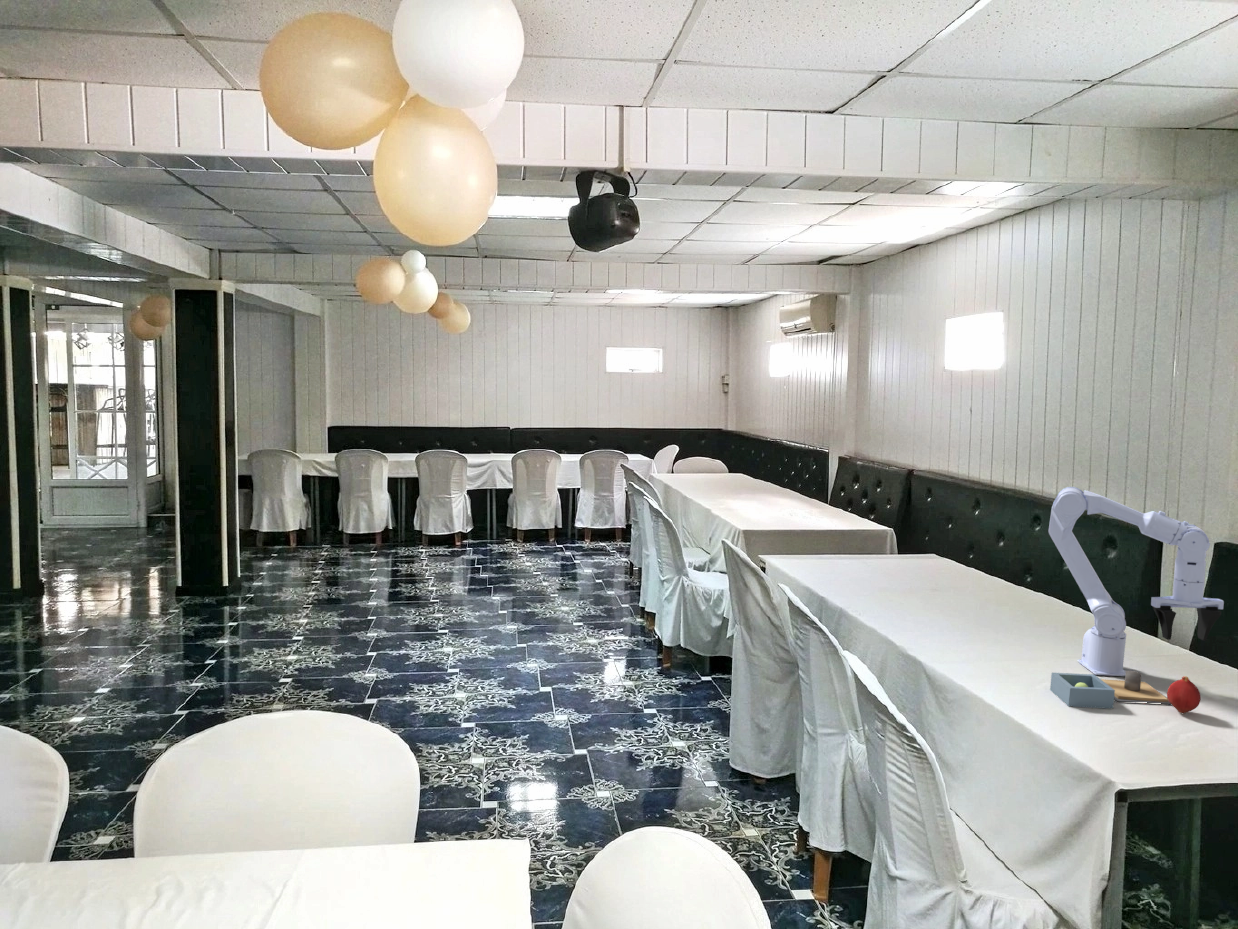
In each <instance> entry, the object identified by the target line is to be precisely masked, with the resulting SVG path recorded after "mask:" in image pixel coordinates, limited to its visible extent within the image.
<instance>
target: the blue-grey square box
mask: <svg viewBox="0 0 1238 929" xmlns="http://www.w3.org/2000/svg"><path fill="white" fill-rule="evenodd" d="M1101 679H1102V678H1099V676H1098V675H1095V674H1094V673H1093V674H1092V673H1091V674H1090V673H1089V674H1088V673H1069V672H1051V677H1050V686H1049V687H1050V688H1049V690H1050V691H1051V693H1053V694H1054V695H1055V696H1056V695H1057V696H1058V697H1057V696H1056V697H1057V698H1059V699H1060V700H1061V702H1063V703H1064V702H1065V703H1066V704H1067V707H1071V706H1073V707H1075V708H1092V709H1093V708H1094V709H1097V708H1098V709H1111V708H1113V709H1114V702H1115V701H1114V694H1115V690H1114V689H1113V688H1111V687H1110V686H1109V685H1107V684H1106V683H1105V682H1103V681H1102V680H1101ZM1080 682H1081V683H1085V684H1086V685H1087V686H1088V687H1075V685H1076V684H1077V683H1080ZM1065 703H1064V704H1065ZM1066 704H1065V705H1066Z"/></svg>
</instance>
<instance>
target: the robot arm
mask: <svg viewBox="0 0 1238 929" xmlns="http://www.w3.org/2000/svg"><path fill="white" fill-rule="evenodd" d="M1085 511H1087V512H1086V514H1087V515H1089V516H1090V515H1095V514H1104V515H1105V516H1106V515H1107V516H1109V517H1112V518H1115V519H1117V520H1121V521H1124V522H1126V523H1129V524H1131V525H1134V526H1137V527H1138V528H1139V529H1138V530H1139V531H1140V534H1142V535H1144V536H1146V537H1149V538H1151V539H1154V540H1157V541H1158V542H1159V541H1160V542H1161V543H1164V544H1166V545H1169V546H1177V548H1176V549H1177V550H1176V557H1175V560H1174V572H1173V573H1174V574H1173V584H1172V595H1167V596H1151V597H1150V598H1151V600H1150V606H1152V609H1153V611H1154V613H1155V616H1157V619H1158V623H1159V625H1160V629H1161V636H1162V638H1164V639H1165V640H1168V641H1170V640H1171V639H1172V636H1173V635H1172V634H1173V624H1174V620H1175V618H1176V615H1177V612H1176V611H1174V610H1173V608H1185V609H1186V608H1188V609H1189V608H1190V609H1191V608H1192V609H1194V608H1195V609H1196V611H1197V613H1196V614H1197V632H1196V633H1197V639H1200V640H1201V641H1204V642H1205V641H1207V639H1208V636H1209V635H1210V631H1211V630H1212V627H1213V626H1214V625H1215V623H1216V621H1217V620H1219V618H1220V617H1221V616H1222V611H1221V610H1224V604H1225V601H1224V600H1223V599H1221V598H1214V597H1213V598H1211V597H1204V591H1205V590H1204V589H1205V579H1206V569H1207V568H1206V567H1207V561H1206V558H1207V551H1208V550H1209V549H1210V546H1211V543H1210V540H1209V537H1208V534H1206V532H1205V531H1204V530H1203V529H1202V528H1200V527H1198V526H1197V525H1196V524H1192V523H1191V524H1190V523H1189V521H1186V520H1183V521H1180V520H1178V519H1176V518H1173V517H1170V516H1168V515H1166V514H1167V513H1166V512H1165V511H1162V510H1159V511H1154V510H1152V511H1151V510H1150V511H1148V512H1142V511H1139V510H1137V509H1135V508H1132V507H1130V506H1128V505H1126V504H1123V503H1121V502H1119V501H1116V500H1114V499H1111V498H1109V497H1106V496H1104V495H1101V494H1099V493H1095V492H1093V491H1091V490H1085V489H1084V490H1082V489H1081V488H1078V487H1076V486H1067V487H1064V488H1063V489H1061V490H1060V491H1059V492H1058V494H1057V495H1056V497H1055V499H1054V501H1053V503H1052V506H1051V510H1050V516H1049V517H1050V518H1049V523H1048V524H1049V526H1048V535H1049V536H1050V538H1051V540H1052V542H1053V543H1054V545H1055V547H1056V549H1057V550H1058V552H1059V554H1060V555H1061V557H1062V559H1063V560H1064V563H1065V564H1066V567H1067V568H1068V570H1069V571H1070V573H1071V575H1072V577H1073V578H1074V580H1075V582H1076V584H1077V585H1078V588H1079V590H1080V592H1081V593H1082V594H1083V596H1084V598H1085V600H1086V602H1087V604H1088V606H1089V609H1090V611H1091V613H1092V616H1093V618H1094V623H1093V624H1094V625H1093V626H1092V627H1091V628H1089V629H1087V630H1086V632H1085V633H1084V634H1083V638H1082V646H1081V647H1082V649H1081V659H1080V658H1079V659H1077V662H1078V663H1079V664H1080V665H1082V666H1083V667H1084V668H1086V669H1087V671H1088V670H1089V671H1090V672H1092V673H1093V674H1094V675H1095V676H1107V677H1108V676H1112V677H1125V674H1126V671H1127V670H1125V669H1124V663H1125V662H1124V660H1125V652H1126V651H1125V650H1126V643H1127V641H1126V639H1127V633H1126V632H1125V630H1126V629H1127V628H1126V627H1127V621H1126V619H1125V618H1126V614H1125V611H1124V609H1123V607H1122V606H1121V605H1120V604H1118V603H1117V602H1115V601H1114V600H1113V598H1112V596H1111V595H1110V593H1109V592H1108V591H1107V590H1106V588H1105V586H1104V585H1103V582H1102V581H1101V579H1100V578H1099V576H1098V573H1097V572H1096V571H1095V569H1094V567H1093V566H1092V563H1091V562H1090V560H1089V558H1088V557H1087V555H1086V553H1085V552H1084V550H1083V548H1082V546H1081V545H1080V542H1079V541H1078V539H1077V537H1076V536H1075V534H1074V532H1073V529H1074V527H1075V524H1076V523H1077V520H1078V519H1079V518H1080V517H1081V516H1082V515H1083V513H1085ZM1092 673H1091V674H1092Z"/></svg>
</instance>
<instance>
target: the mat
mask: <svg viewBox="0 0 1238 929" xmlns="http://www.w3.org/2000/svg"><path fill="white" fill-rule="evenodd" d="M1151 687H1152V688H1154V687H1153V686H1151ZM1155 690H1156V691H1158V690H1157V689H1155ZM1158 692H1159V691H1158ZM1159 693H1160V694H1162V695H1163V696H1165V695H1164V694H1163V693H1161V692H1159ZM1165 697H1166V698H1167V695H1166V696H1165ZM1167 699H1168V698H1167ZM1114 700H1115V701H1114V702H1115V703H1117V702H1147V703H1161V704H1171V703H1170V702H1169V700H1168V702H1160V701H1144V700H1129V699H1118V698H1117V697H1115V696H1114Z"/></svg>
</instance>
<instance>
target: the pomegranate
mask: <svg viewBox="0 0 1238 929" xmlns="http://www.w3.org/2000/svg"><path fill="white" fill-rule="evenodd" d="M1166 697H1167V698H1168V700H1169V702H1170V703H1171V704H1172V705H1171V706H1172V707H1173V708H1174V709H1176V711H1177V712H1178V713H1180V714H1182V713H1183V714H1186V713H1189V712H1192V711H1194V710H1195V709H1196V708H1198V707H1199V705H1200V703H1201V699H1202V698H1201V692H1200V690H1199V689H1198V687H1197V686H1196V685H1195V684H1194V682H1192V681H1191V680H1190V678H1189V677H1188V676H1185V675H1184V676H1182V677H1181V679H1177V680H1175V681H1173V682H1172V683H1171V684H1169V686H1168V688H1167V692H1166Z"/></svg>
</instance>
